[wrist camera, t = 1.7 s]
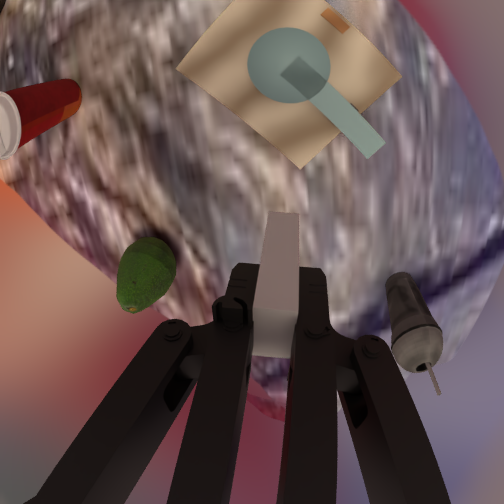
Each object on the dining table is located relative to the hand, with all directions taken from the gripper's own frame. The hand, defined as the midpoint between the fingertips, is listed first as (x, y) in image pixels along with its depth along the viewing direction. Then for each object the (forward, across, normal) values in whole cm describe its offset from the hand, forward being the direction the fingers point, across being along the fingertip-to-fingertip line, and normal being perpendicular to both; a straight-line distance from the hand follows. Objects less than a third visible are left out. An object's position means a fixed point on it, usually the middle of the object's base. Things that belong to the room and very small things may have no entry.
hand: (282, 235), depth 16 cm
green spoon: (+17, +3, +6) cm, 18 cm away
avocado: (+21, -18, -17) cm, 33 cm away
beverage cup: (+22, +19, -21) cm, 35 cm away
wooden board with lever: (+21, 0, +8) cm, 23 cm away
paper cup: (+21, -29, +6) cm, 37 cm away
